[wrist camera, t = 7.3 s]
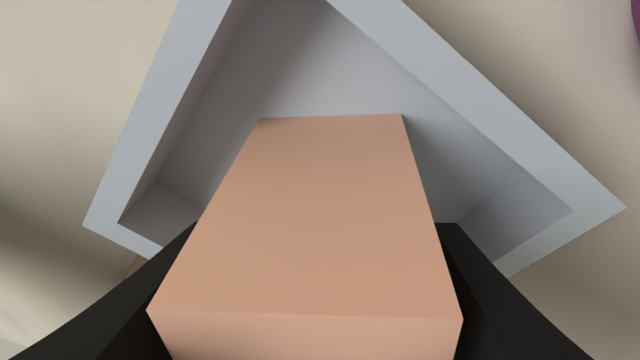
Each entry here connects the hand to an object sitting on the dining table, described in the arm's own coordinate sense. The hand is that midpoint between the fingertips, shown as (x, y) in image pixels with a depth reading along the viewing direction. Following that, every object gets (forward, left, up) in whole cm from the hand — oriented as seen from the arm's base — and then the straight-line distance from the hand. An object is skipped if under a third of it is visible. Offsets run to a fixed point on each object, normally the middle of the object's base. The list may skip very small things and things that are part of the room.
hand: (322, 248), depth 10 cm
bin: (0, 0, -5) cm, 5 cm away
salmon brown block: (0, 0, -4) cm, 4 cm away
